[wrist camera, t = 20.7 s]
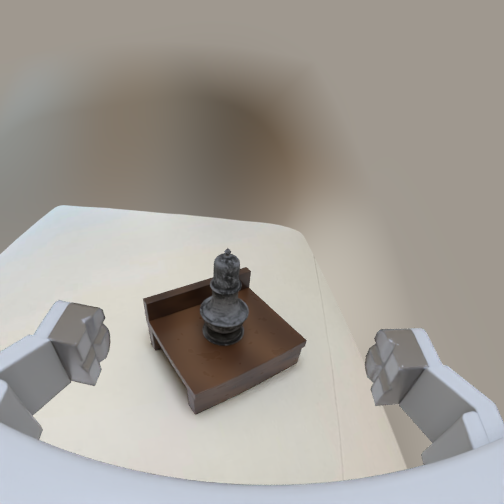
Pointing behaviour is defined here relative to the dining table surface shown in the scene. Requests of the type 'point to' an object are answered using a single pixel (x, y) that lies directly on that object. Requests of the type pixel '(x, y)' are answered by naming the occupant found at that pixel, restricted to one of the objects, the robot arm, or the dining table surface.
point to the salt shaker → (224, 303)
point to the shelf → (216, 356)
